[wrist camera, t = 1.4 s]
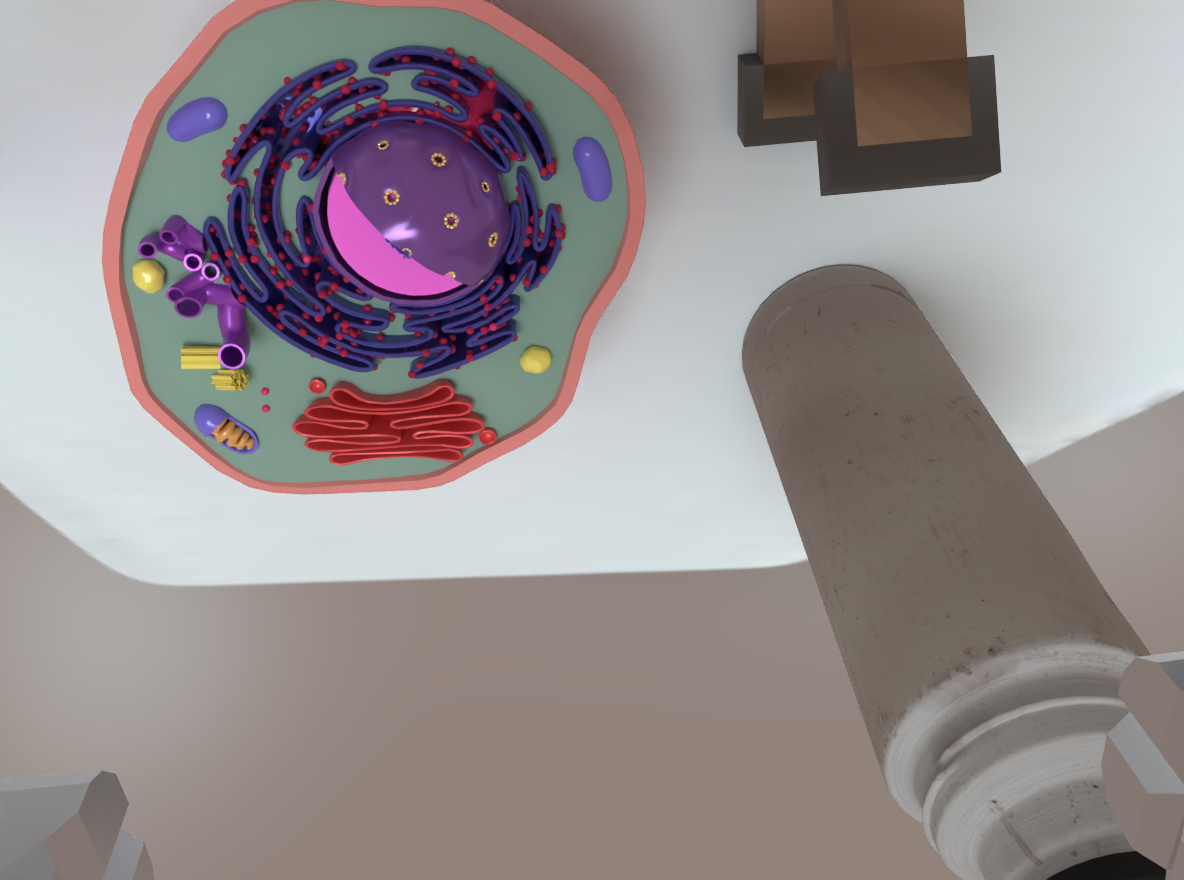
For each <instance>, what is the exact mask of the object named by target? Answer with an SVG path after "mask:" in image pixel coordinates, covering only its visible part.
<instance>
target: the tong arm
mask: <svg viewBox="0 0 1184 880" xmlns="http://www.w3.org/2000/svg"><path fill="white" fill-rule="evenodd" d="M832 8H833V21H834V35H835V48H836V62H837V69H836V70H825V71H824V73H823V74H822V75H821V76H820V77H819V78H818V79H817V81H816V82H815V83H814V84H813V98H814V111H815V124H816V137H817V151H818V164H819V177H820V190H821V196H827V195H838V194H849V193H859V192H870V191H881V190H892V189H902V188H913V187H924V186H934V185H945V184H956V183H967V182H977V181H981V180H984V179H986V178H989V177H991V176H993V175H996V174H998V173H1000V172H1001V161H1000V145H999V129H998V113H997V96H996V80H995V64H994V55H988V56H977V57H967V47H966V32H965V16H964V0H832Z"/></svg>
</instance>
